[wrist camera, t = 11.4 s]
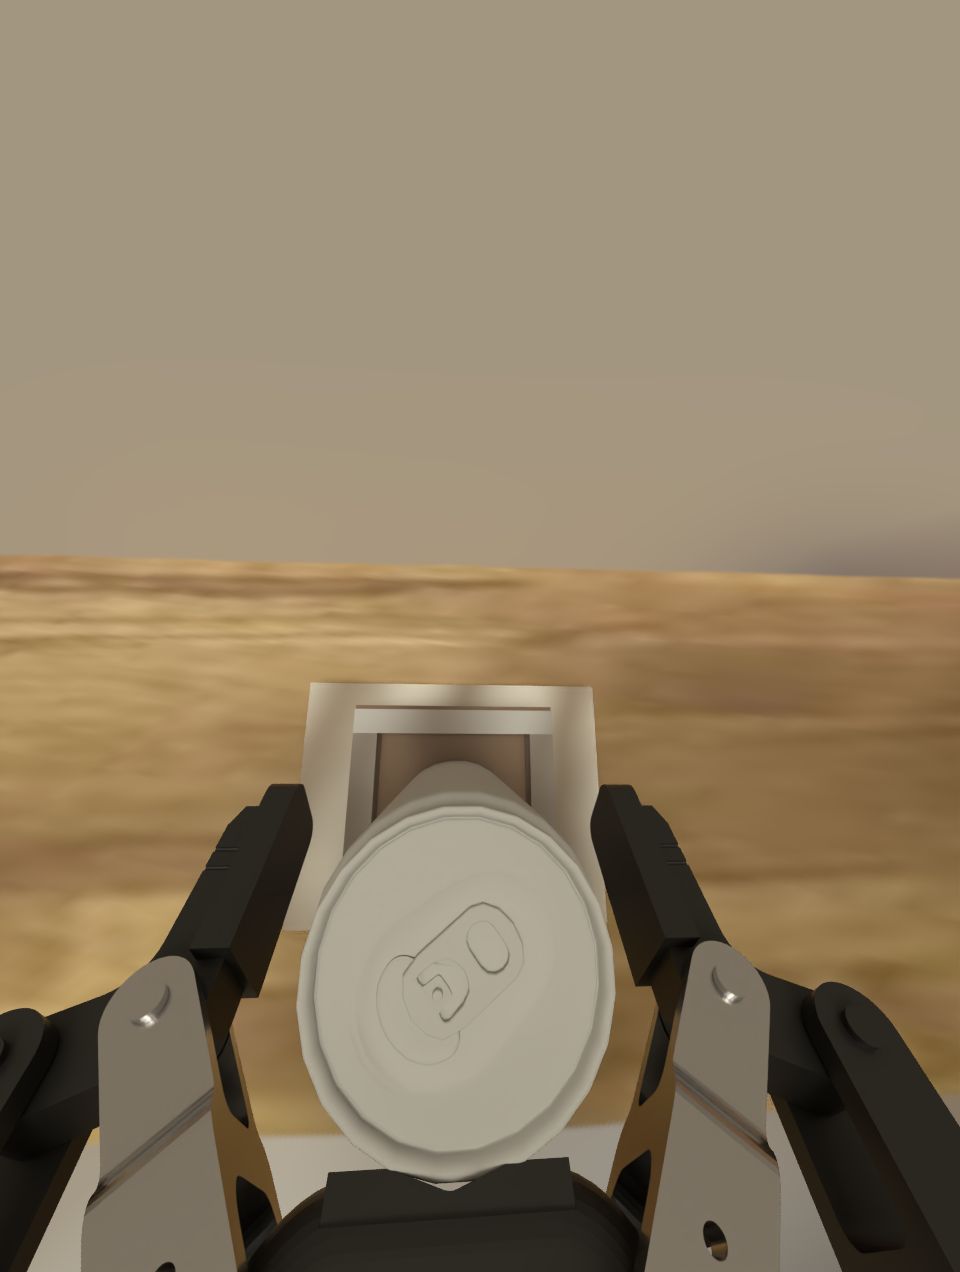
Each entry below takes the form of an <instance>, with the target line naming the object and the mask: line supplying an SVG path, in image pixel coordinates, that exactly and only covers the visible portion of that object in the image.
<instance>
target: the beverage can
mask: <svg viewBox="0 0 960 1272" xmlns="http://www.w3.org/2000/svg"><path fill="white" fill-rule="evenodd" d="M615 995H616V991H615V976H614V962H613V947H612V943H611V940H610V936H609V933H608V930H607V926H606V923H605V920H604V916H603V913H602V910H601V906H600V903H599V901H598V899H597V897H596V896H595V893H594V890H593V886H592V883H591V881H590V879H589V877H588V876H587V874H586V872H585V870H584V869H583V867H582V865H581V863H580V861H579V860H578V858H577V856H576V854H575V853H574V851H573V849H572V847H571V846H570V845H569V844H568V843H567V842H566V841H565V840H564V839H563V838H562V837H561V836H560V835H559V834H558V833H557V831H556V830H555V829H554V828H553V827H552V826H551V825H550V824H549V823H548V822H547V821H546V820H545V819H544V818H543V817H542V816H541V815H540V814H539V813H537V812H536V811H535V810H534V809H533V808H532V807H531V806H529V805H528V804H527V803H526V802H525V801H524V800H523V799H522V798H520V797H519V796H518V795H517V794H516V793H515V792H514V791H512V790H511V789H510V788H509V787H508V786H507V785H506V784H505V783H503V782H502V781H501V780H500V779H499V778H498V777H497V776H495V775H494V774H493V773H492V772H491V771H489V770H488V769H486V768H484V767H482V766H481V765H479V764H476V763H472V762H468V761H446V762H442V763H437V764H434V765H432V766H430V767H428V768H426V769H424V770H422V771H421V772H420V773H419V774H418V775H417V776H416V777H415V778H414V779H413V780H412V781H411V782H410V783H409V784H408V785H407V786H406V787H405V788H404V789H403V790H402V791H401V792H400V794H399V795H398V796H397V797H396V798H395V799H394V800H393V801H392V802H391V803H390V804H389V805H388V806H387V807H386V808H385V809H384V811H383V812H382V813H381V814H380V815H379V816H378V817H377V818H376V819H375V820H374V821H373V822H372V823H371V824H370V825H369V827H368V828H367V829H366V830H365V831H364V832H363V833H362V834H361V835H360V836H359V837H358V838H357V839H356V840H355V841H354V843H353V844H352V845H351V846H350V847H349V848H348V849H347V851H346V853H345V854H344V856H343V858H342V859H341V861H340V863H339V864H338V866H337V867H336V869H335V871H334V872H333V874H332V876H331V877H330V879H329V881H328V882H327V884H326V885H325V887H324V889H323V892H322V895H321V898H320V901H319V904H318V907H317V910H316V913H315V916H314V919H313V922H312V925H311V928H310V931H309V934H308V937H307V940H306V943H305V946H304V949H303V952H302V956H301V963H300V973H299V983H298V994H297V1004H296V1009H297V1017H298V1024H299V1031H300V1039H301V1046H302V1053H303V1059H304V1062H305V1064H306V1067H307V1069H308V1072H309V1074H310V1077H311V1079H312V1082H313V1084H314V1087H315V1089H316V1092H317V1094H318V1097H319V1099H320V1102H321V1104H322V1106H323V1108H324V1109H325V1110H326V1111H327V1113H328V1114H329V1115H330V1117H331V1118H332V1119H333V1120H334V1122H335V1123H336V1124H337V1126H338V1127H339V1128H340V1130H341V1131H342V1132H343V1133H344V1135H345V1136H346V1137H347V1139H348V1140H349V1141H350V1143H351V1144H353V1145H354V1146H355V1147H357V1148H358V1149H359V1150H361V1151H362V1152H364V1153H365V1154H366V1155H368V1156H370V1157H371V1158H372V1159H374V1160H375V1161H377V1162H378V1163H379V1164H381V1165H382V1166H384V1167H385V1168H386V1169H388V1170H392V1171H397V1172H399V1173H402V1174H404V1175H407V1176H409V1177H412V1178H416V1179H420V1180H423V1181H427V1182H431V1183H435V1184H438V1183H453V1182H468V1181H474V1180H476V1179H478V1178H479V1177H481V1176H483V1175H485V1174H487V1173H489V1172H491V1171H493V1170H495V1169H497V1168H499V1167H500V1166H502V1165H504V1164H506V1163H507V1164H511V1163H521V1162H525V1161H526V1160H528V1159H529V1158H530V1157H531V1156H532V1155H533V1154H535V1153H536V1152H537V1151H538V1150H540V1149H541V1148H542V1147H543V1146H544V1145H546V1144H547V1143H548V1142H549V1141H550V1140H552V1139H553V1138H554V1137H555V1136H556V1135H558V1134H559V1133H560V1132H561V1131H562V1130H563V1128H564V1127H565V1126H566V1124H567V1123H568V1121H569V1120H570V1118H571V1117H572V1116H573V1114H574V1113H575V1111H576V1110H577V1108H578V1107H579V1105H580V1104H581V1103H582V1101H583V1100H584V1098H585V1097H586V1095H587V1094H588V1093H589V1091H590V1089H591V1087H592V1084H593V1082H594V1079H595V1076H596V1074H597V1071H598V1069H599V1066H600V1064H601V1061H602V1059H603V1056H604V1053H605V1051H606V1048H607V1046H608V1043H609V1036H610V1029H611V1022H612V1016H613V1009H614V1002H615Z"/></svg>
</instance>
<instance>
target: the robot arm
mask: <svg viewBox="0 0 960 1272" xmlns="http://www.w3.org/2000/svg"><path fill="white" fill-rule="evenodd" d="M312 832H313V818H312V814H311V810H310V806H309V802H308V798H307V794H306V790H305V787H304V785H303V784H272V785H270V786H269V788H268V789H267V791H266V793H265V795H264V797H263V799H262V801H261V803H260V805H259V806H246V807H245V808H244V809H243V810H242V811H241V812H240V813H239V814H238V815H237V816H236V817H235V818H234V820H233V821H232V822H231V823H230V824H229V825H228V826H227V828H226V829H225V831H224V833H223V835H222V837H221V839H220V840H219V842H218V844H217V846H216V850H215V852H213V853H212V855H211V857H210V859H209V861H208V863H207V864H206V869H205V870H204V871H203V872H202V874H201V875H200V877H199V879H198V881H197V883H196V885H195V886H194V888H193V890H192V892H191V894H190V896H189V897H188V899H187V901H186V903H185V905H184V907H183V908H182V910H181V912H180V914H179V916H178V918H177V919H176V921H175V923H174V925H173V927H172V929H171V930H170V932H169V934H168V936H167V938H166V940H165V941H164V943H163V945H162V946H161V948H160V950H159V951H158V952H157V954H156V955H155V956H154V958H153V959H152V960H151V961H150V962H149V963H148V964H147V965H145V966H143V967H142V968H140V969H139V970H138V971H136V972H135V973H134V974H133V975H131V976H130V977H129V978H128V979H127V980H126V981H125V982H124V983H123V984H122V985H121V986H120V987H119V988H117V989H115V990H113V991H112V992H109V993H107V994H105V995H102V996H100V997H97V998H95V999H92V1000H89V1001H87V1002H84V1003H81V1004H79V1005H76V1006H73V1007H71V1008H68V1009H65V1010H63V1011H60V1012H57V1013H55V1014H52V1015H49V1016H47V1017H44V1016H43V1015H41V1014H40V1013H39V1012H37V1011H36V1010H33V1009H30V1008H20V1009H15V1010H11V1011H9V1012H6V1013H3V1014H1V1015H0V1272H27V1270H28V1268H29V1266H30V1264H31V1261H32V1259H33V1257H34V1255H35V1253H36V1250H37V1248H38V1246H39V1244H40V1242H41V1240H42V1238H43V1236H44V1233H45V1231H46V1229H47V1227H48V1225H49V1223H50V1220H51V1218H52V1216H53V1214H54V1212H55V1210H56V1207H57V1205H58V1203H59V1201H60V1199H61V1197H62V1194H63V1192H64V1190H65V1188H66V1186H67V1183H68V1181H69V1179H70V1177H71V1175H72V1173H73V1171H74V1169H75V1166H76V1164H77V1162H78V1160H79V1158H80V1156H81V1153H82V1151H83V1149H84V1147H85V1145H86V1143H87V1140H88V1138H89V1136H90V1134H91V1132H92V1130H93V1129H95V1128H97V1127H99V1126H100V1178H99V1183H98V1186H97V1189H96V1191H95V1192H94V1194H93V1195H92V1196H91V1198H90V1199H89V1201H88V1204H87V1207H86V1211H85V1215H84V1221H83V1227H82V1241H81V1272H780V1207H781V1185H780V1174H779V1168H778V1163H777V1160H776V1156H775V1155H774V1152H773V1151H772V1150H771V1149H770V1147H769V1145H768V1142H767V1138H766V1107H767V1093H769V1094H770V1096H771V1098H772V1101H773V1103H774V1105H775V1108H776V1110H777V1113H778V1115H779V1118H780V1120H781V1123H782V1125H783V1127H784V1130H785V1132H786V1135H787V1137H788V1140H789V1142H790V1145H791V1147H792V1149H793V1152H794V1154H795V1157H796V1159H797V1162H798V1164H799V1167H800V1169H801V1171H802V1174H803V1176H804V1179H805V1181H806V1184H807V1186H808V1189H809V1191H810V1194H811V1196H812V1199H813V1201H814V1203H815V1206H816V1208H817V1211H818V1213H819V1216H820V1218H821V1221H822V1223H823V1226H824V1228H825V1230H826V1233H827V1235H828V1238H829V1240H830V1243H831V1245H832V1248H833V1250H834V1252H835V1255H836V1257H837V1260H838V1262H839V1265H840V1267H841V1270H842V1272H960V1127H959V1125H958V1124H957V1122H956V1121H955V1119H954V1117H953V1116H952V1114H951V1113H950V1111H949V1110H948V1108H947V1107H946V1105H945V1104H944V1102H943V1101H942V1099H941V1097H940V1096H939V1094H938V1093H937V1091H936V1090H935V1088H934V1087H933V1085H932V1084H931V1082H930V1081H929V1079H928V1078H927V1076H926V1074H925V1073H924V1071H923V1070H922V1068H921V1067H920V1065H919V1064H918V1062H917V1061H916V1059H915V1058H914V1056H913V1054H912V1053H911V1051H910V1050H909V1048H908V1047H907V1045H906V1044H905V1042H904V1041H903V1039H902V1038H901V1036H900V1035H899V1033H898V1031H897V1030H896V1029H895V1027H894V1026H893V1024H892V1023H891V1022H890V1020H889V1019H888V1018H887V1017H886V1016H885V1014H884V1013H883V1012H882V1011H881V1010H880V1009H879V1008H878V1007H877V1006H876V1005H875V1004H874V1003H872V1002H871V1001H870V1000H869V999H868V998H866V997H865V996H864V995H862V994H861V993H859V992H858V991H856V990H854V989H853V988H851V987H849V986H846V985H844V984H841V983H837V982H826V983H823V984H821V985H820V986H819V987H818V988H816V989H815V990H811V989H808V988H805V987H802V986H800V985H797V984H794V983H791V982H788V981H785V980H783V979H780V978H777V977H774V976H771V975H769V974H766V973H764V972H762V971H760V970H758V969H757V968H755V967H754V966H753V965H752V964H751V963H750V962H749V961H748V960H747V959H746V958H745V957H744V956H743V955H742V954H741V953H740V952H738V951H737V950H735V949H734V948H732V946H731V945H730V944H729V943H728V941H727V940H726V938H725V937H724V935H723V934H722V932H721V930H720V928H719V926H718V924H717V922H716V920H715V918H714V916H713V914H712V912H711V910H710V908H709V906H708V904H707V902H706V900H705V898H704V896H703V893H702V891H701V889H700V887H699V885H698V883H697V881H696V879H695V877H694V875H693V873H692V871H691V869H690V867H689V865H687V864H686V859H685V857H684V855H683V853H682V851H681V849H680V848H679V847H678V843H677V841H676V839H675V837H674V835H673V833H672V831H671V829H670V827H669V824H668V823H667V822H666V821H665V820H664V818H663V817H662V816H661V815H660V814H659V813H658V812H657V811H656V810H655V809H654V808H653V806H641V803H640V801H639V799H638V797H637V794H636V792H635V790H634V789H633V787H632V786H631V785H602V786H601V787H600V790H599V793H598V796H597V799H596V803H595V806H594V809H593V812H592V815H591V820H590V832H591V839H592V843H593V846H594V850H595V853H596V856H597V859H598V863H599V866H600V869H601V873H602V876H603V879H604V883H605V886H606V889H607V893H608V896H609V899H610V903H611V906H612V909H613V913H614V916H615V919H616V923H617V926H618V929H619V933H620V936H621V939H622V943H623V946H624V949H625V953H626V956H627V959H628V963H629V966H630V969H631V973H632V976H633V979H634V983H635V986H636V987H637V986H652V990H653V993H654V996H655V999H656V1002H657V1003H656V1006H655V1009H654V1013H653V1018H652V1022H651V1026H650V1031H649V1035H648V1039H647V1043H646V1048H645V1052H644V1056H643V1061H642V1065H641V1069H640V1073H639V1078H638V1082H637V1086H636V1091H635V1095H634V1099H633V1103H632V1106H631V1109H630V1112H629V1115H628V1117H627V1120H626V1122H625V1124H624V1127H623V1130H622V1133H621V1136H620V1139H619V1142H618V1146H617V1150H616V1154H615V1158H614V1162H613V1166H612V1170H611V1174H610V1178H609V1182H608V1187H607V1191H606V1193H605V1192H603V1191H602V1190H601V1189H600V1188H598V1187H597V1186H596V1185H595V1184H593V1183H592V1182H591V1181H589V1180H587V1179H585V1178H584V1177H582V1176H581V1175H579V1174H577V1173H574V1172H572V1171H570V1165H569V1158H568V1157H563V1158H547V1159H533V1160H526V1161H525V1162H521V1163H511V1164H507V1163H506V1164H504V1165H502V1166H500V1167H499V1168H497V1169H495V1170H493V1171H491V1172H489V1173H487V1174H485V1175H483V1176H481V1177H479V1178H478V1179H476V1180H474V1181H472V1182H470V1183H468V1184H466V1185H464V1186H462V1187H461V1188H458V1189H456V1190H454V1191H446V1190H442V1189H440V1188H437V1187H435V1186H432V1185H430V1184H427V1183H425V1182H422V1181H419V1180H417V1179H414V1178H412V1177H409V1176H407V1175H404V1174H402V1173H399V1172H397V1171H392V1170H388V1169H376V1170H361V1171H345V1172H329V1173H328V1178H327V1184H326V1187H324V1188H322V1189H320V1190H319V1191H317V1192H315V1193H314V1194H312V1195H311V1196H310V1197H308V1198H307V1199H305V1200H304V1201H302V1202H301V1203H300V1204H299V1205H298V1206H296V1207H295V1208H294V1209H293V1210H292V1211H291V1212H290V1213H289V1214H288V1215H286V1216H285V1217H284V1218H283V1219H282V1216H281V1213H280V1208H279V1203H278V1199H277V1195H276V1191H275V1186H274V1182H273V1178H272V1173H271V1170H270V1166H269V1162H268V1159H267V1156H266V1153H265V1150H264V1147H263V1144H262V1142H261V1140H260V1137H259V1135H258V1132H257V1129H256V1125H255V1122H254V1118H253V1113H252V1109H251V1105H250V1100H249V1096H248V1091H247V1087H246V1082H245V1078H244V1074H243V1069H242V1065H241V1060H240V1056H239V1051H238V1047H237V1043H236V1038H235V1034H234V1029H233V1025H232V1022H233V1019H234V1016H235V1014H236V1011H237V1008H238V1005H239V1003H240V1000H241V998H258V997H259V994H260V991H261V988H262V985H263V982H264V979H265V976H266V973H267V970H268V967H269V964H270V961H271V958H272V955H273V952H274V949H275V946H276V943H277V940H278V938H279V935H280V932H281V929H282V926H283V923H284V920H285V917H286V914H287V911H288V908H289V905H290V902H291V899H292V896H293V893H294V890H295V887H296V884H297V881H298V878H299V875H300V872H301V869H302V866H303V863H304V860H305V857H306V854H307V851H308V848H309V845H310V842H311V838H312ZM709 1247H711V1249H712V1255H711V1254H710V1253H709V1251H708V1249H707V1248H709Z"/></svg>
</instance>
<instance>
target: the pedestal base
mask: <svg viewBox="0 0 960 1272" xmlns="http://www.w3.org/2000/svg"><path fill="white" fill-rule="evenodd" d="M446 761H468V762H472V763H476V764H479V765H481V766H482V767H484V768H486V769H488V770H489V771H491V772H492V773H493V774H494V775H495V776H497V777H498V778H499V779H500V780H501V781H502V782H503V783H505V784H506V785H507V786H508V787H509V788H510V789H511V790H512V791H514V792H515V793H516V794H517V795H518V796H519V797H520V798H522V799H523V800H524V801H525V802H526V803H527V804H528V805H529V806H531V807H532V808H533V809H534V810H535V811H536V812H537V813H539V814H540V815H541V816H542V817H543V818H544V819H545V820H546V821H547V822H548V823H549V824H550V825H551V826H552V827H553V828H554V829H555V830H556V831H557V833H558V834H559V835H560V836H561V837H562V838H563V839H564V840H565V841H566V842H567V843H568V844H569V845H570V846H571V847H572V849H573V851H574V853H575V854H576V856H577V858H578V860H579V861H580V863H581V865H582V867H583V869H584V870H585V872H586V874H587V876H588V877H589V879H590V881H591V883H592V886H593V890H594V893H595V896H596V897H597V899H598V901H599V903H600V906H601V910H602V913H603V916H604V920H605V923H607V912H606V896H605V883H604V879H603V876H602V873H601V869H600V866H599V863H598V859H597V856H596V853H595V850H594V846H593V843H592V839H591V832H590V820H591V815H592V812H593V809H594V806H595V803H596V799H597V796H598V793H599V786H598V771H597V755H596V739H595V724H594V708H593V692H592V687H566V686H500V685H434V684H368V683H311V687H310V696H309V705H308V714H307V723H306V732H305V741H304V750H303V758H302V767H301V776H300V784H303V785H304V787H305V790H306V794H307V798H308V802H309V806H310V810H311V814H312V818H313V832H312V838H311V842H310V845H309V848H308V851H307V854H306V857H305V860H304V863H303V866H302V869H301V872H300V875H299V878H298V881H297V884H296V887H295V890H294V893H293V896H292V899H291V902H290V905H289V908H288V911H287V914H286V917H285V920H284V928H283V931H302V930H310V928H311V925H312V922H313V919H314V916H315V913H316V910H317V907H318V904H319V901H320V898H321V895H322V892H323V889H324V887H325V885H326V884H327V882H328V881H329V879H330V877H331V876H332V874H333V872H334V871H335V869H336V867H337V866H338V864H339V863H340V861H341V859H342V858H343V856H344V854H345V853H346V851H347V849H348V848H349V847H350V846H351V845H352V844H353V843H354V841H355V840H356V839H357V838H358V837H359V836H360V835H361V834H362V833H363V832H364V831H365V830H366V829H367V828H368V827H369V825H370V824H371V823H372V822H373V821H374V820H375V819H376V818H377V817H378V816H379V815H380V814H381V813H382V812H383V811H384V809H385V808H386V807H387V806H388V805H389V804H390V803H391V802H392V801H393V800H394V799H395V798H396V797H397V796H398V795H399V794H400V792H401V791H402V790H403V789H404V788H405V787H406V786H407V785H408V784H409V783H410V782H411V781H412V780H413V779H414V778H415V777H416V776H417V775H418V774H419V773H420V772H421V771H422V770H424V769H426V768H428V767H430V766H432V765H434V764H437V763H442V762H446Z"/></svg>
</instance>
